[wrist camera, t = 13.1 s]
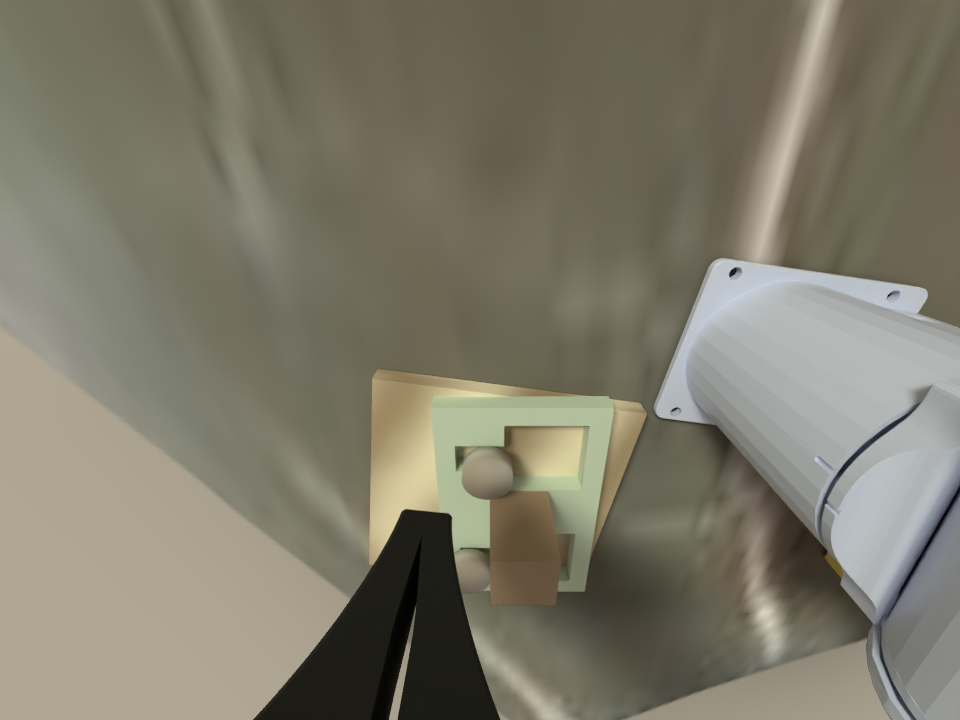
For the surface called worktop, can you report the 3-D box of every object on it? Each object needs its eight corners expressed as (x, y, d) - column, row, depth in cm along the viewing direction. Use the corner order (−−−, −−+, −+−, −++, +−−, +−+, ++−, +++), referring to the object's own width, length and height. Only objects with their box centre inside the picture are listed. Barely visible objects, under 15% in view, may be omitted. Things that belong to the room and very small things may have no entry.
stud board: (639, 402, 20) (666, 443, 17) (575, 572, 26) (587, 624, 23) (377, 369, 19) (357, 405, 16) (373, 550, 25) (358, 600, 22)
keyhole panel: (608, 396, 19) (646, 468, 14) (581, 576, 24) (601, 667, 20) (433, 396, 19) (416, 467, 14) (447, 574, 25) (438, 665, 20)
